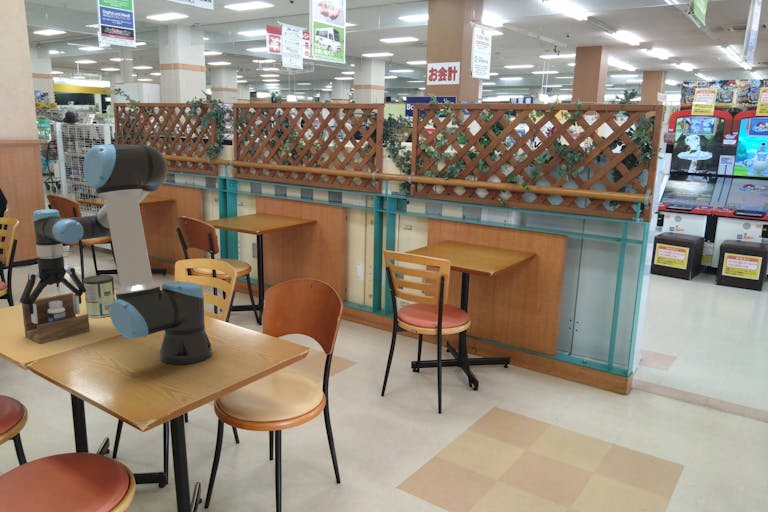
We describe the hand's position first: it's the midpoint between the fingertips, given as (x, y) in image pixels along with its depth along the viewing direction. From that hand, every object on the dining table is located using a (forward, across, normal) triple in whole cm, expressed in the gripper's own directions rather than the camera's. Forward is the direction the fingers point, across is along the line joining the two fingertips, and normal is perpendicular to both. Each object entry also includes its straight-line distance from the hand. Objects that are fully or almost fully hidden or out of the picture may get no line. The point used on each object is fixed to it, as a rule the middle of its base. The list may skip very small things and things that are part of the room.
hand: (56, 318), depth 192 cm
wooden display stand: (+6, 0, 0) cm, 6 cm away
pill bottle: (+3, 0, 0) cm, 3 cm away
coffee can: (+6, -21, -12) cm, 25 cm away
